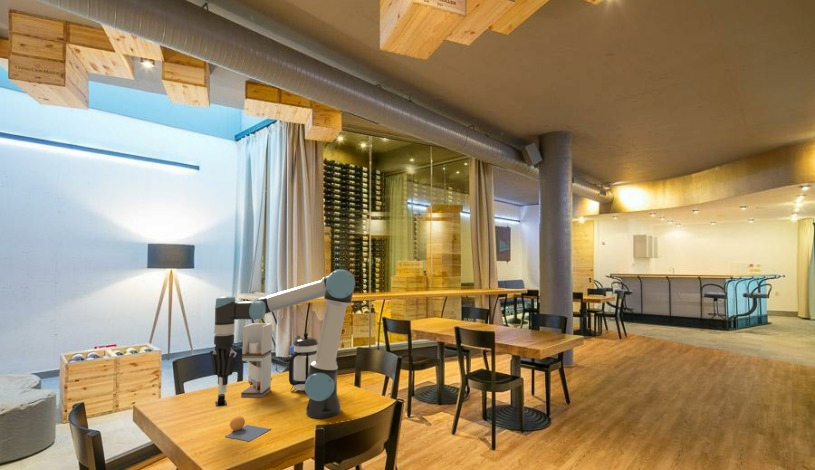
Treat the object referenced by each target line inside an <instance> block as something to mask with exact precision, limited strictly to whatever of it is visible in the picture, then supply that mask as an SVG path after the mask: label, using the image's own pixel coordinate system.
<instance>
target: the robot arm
mask: <svg viewBox="0 0 815 470" xmlns="http://www.w3.org/2000/svg"><path fill="white" fill-rule="evenodd" d="M355 287H356V279H355V276H354V274H353V273H352V272H351V271H349V270H347V269H340V268H339V269H336V270H333V271H332V272H331V273H329V275H326V276H323V277H322V278H321V280H316V281H313V282H310V283H306V284H303V285H300V286H296V287H292V288H289V289H286V290H282V291H279V292H276V293H273V294H272V293H271V294H269V295H266V296H263V297H259V298H256V299H253V300H248V301H247V300H242V301H238V300H237V299H236V297H235V296H232V295H231V296H219V297H217V298H215V305H214V306H215V307H214V330H213V331H214V332H213V334H214V336H213V339H214V340H213V344H214V345H215V346H214V349H213V350H210V351H209V354H210V357H211V362H212V370H213V375H215V376H216V377H217V385H218V389H217V390H218V394H226V393H227V389H228V388H227V386H228V384H229V382H228V381H229V376H232V375H233V371H234V367H235V362H236V359H237V356H238V354H239V353H238V351H235V350H234V347H233V344H234V343H235V334H234V333H235V324H236V323H235V320H254V321H256V320H262V319H264V317H265V315H266V314H271V313H273V312H277V311H280V310H282V309H286V308H289V307H292V306H293V307H294V306H297V305H299V304H300V305H301V304H302V303H303V304H304V303H306V302H310V301H312V300H318V299H320V298H323V299H324V301H325V303H326V306H325V308H324V309H325V311H324V314H323V319H322V325H321V329H320V334H319V339H318V345H317V353H316V357H315V360H314V361H312V362H311V364H310V368H309V373H308V378H307V380H306V382H305V390H304V393H305V392H306V394H305V395H307V397H308V398H309V399H308V402H307V406H306V407H305V408H306V410H305V414H306V416H308V417H310V418H313V419H325V418H332V417H334V416H337V415H339V414H340V413H341V412H342V411H341V403H340V400H339V396H338V393H337V392H338V369H339V366H338V362H337V355H338V352H339V346H340V342H341V335H342V331H343V326H344V322H345V316H346V312H347V311H346V310H347V307H348V306H349V305H351V304H352V300H353V294H354V289H355ZM218 394H217V395H218Z"/></svg>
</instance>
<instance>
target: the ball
mask: <svg viewBox="0 0 815 470" xmlns="http://www.w3.org/2000/svg"><path fill="white" fill-rule="evenodd" d="M245 424H246V423H245V417H244V416H241V415H235V416H233V417H232V418H231V420H230V423H229V427H230V429H231V430H232V431H233V432H234V431H238V430H240V429H242V428H243V427H244V426H245Z"/></svg>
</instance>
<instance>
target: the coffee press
mask: <svg viewBox="0 0 815 470" xmlns="http://www.w3.org/2000/svg"><path fill="white" fill-rule="evenodd" d="M294 340H295V342H294V341H293V344H292V345H294V354H293V355H292V356H291V358H290V357H289V363H288V380H289V381H288V382H289V384H290V386H292V387H291V388H290V392H291V393H294V391H296V390H297V391H304V393H305V395H307V394H306V392H305V382H306V380H307V378H308V373H309V368H310V364H311V362H312V361H314V360H315V357H316V353H317V348H318V343H319V341H318V340H317V339H316V338H315V337H314V336H313V337H311V336H309V334H308V332H305V333H303V337H302V336H301V338H298V339H294Z"/></svg>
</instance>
